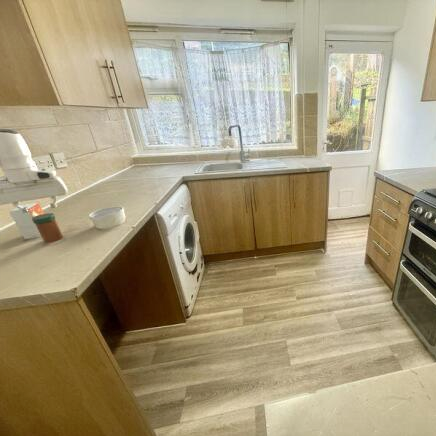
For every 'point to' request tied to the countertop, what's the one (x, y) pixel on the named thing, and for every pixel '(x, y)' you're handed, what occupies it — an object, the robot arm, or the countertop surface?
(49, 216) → the lid
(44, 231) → the jar
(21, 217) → the small box
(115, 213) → the ramekin
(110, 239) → the countertop surface
